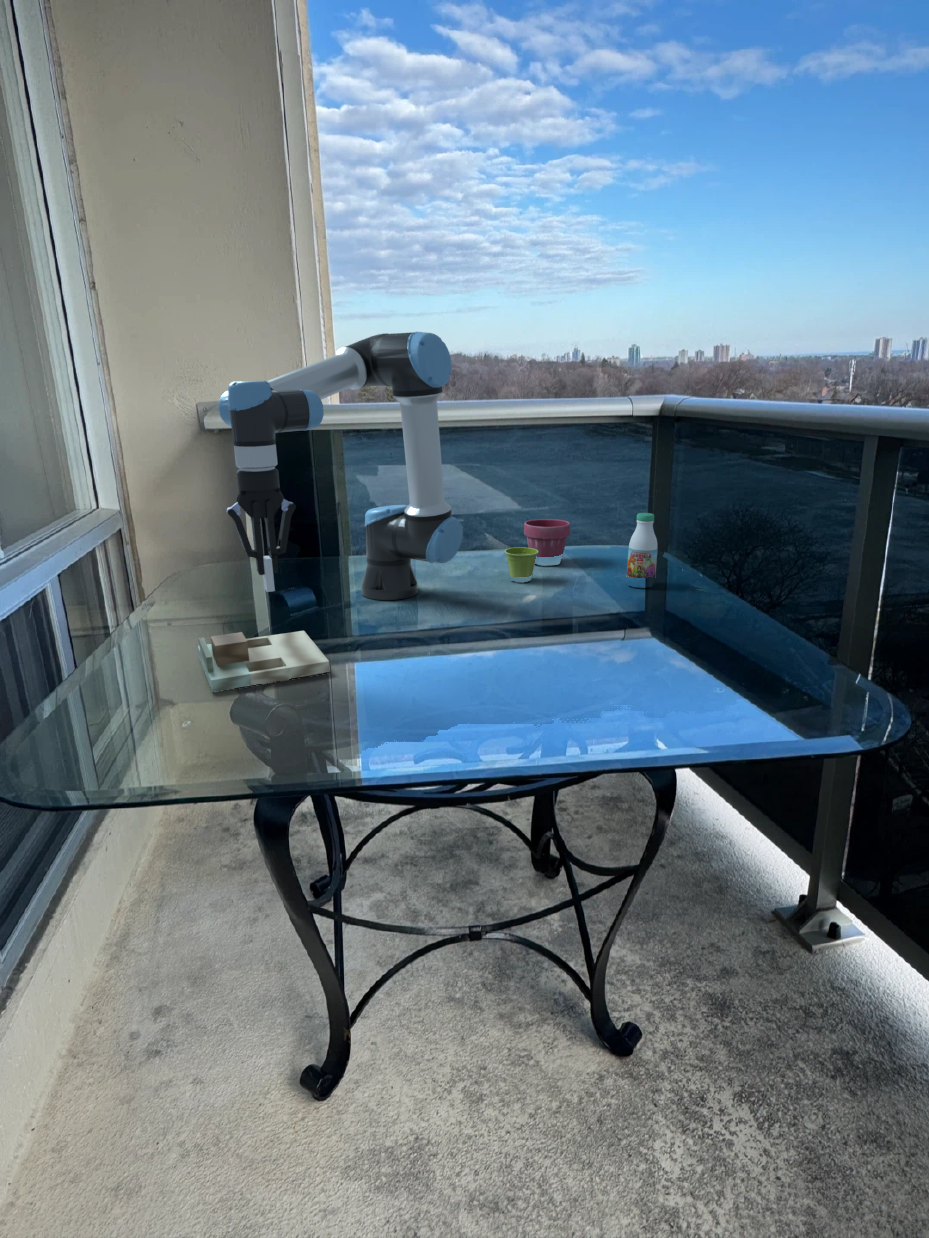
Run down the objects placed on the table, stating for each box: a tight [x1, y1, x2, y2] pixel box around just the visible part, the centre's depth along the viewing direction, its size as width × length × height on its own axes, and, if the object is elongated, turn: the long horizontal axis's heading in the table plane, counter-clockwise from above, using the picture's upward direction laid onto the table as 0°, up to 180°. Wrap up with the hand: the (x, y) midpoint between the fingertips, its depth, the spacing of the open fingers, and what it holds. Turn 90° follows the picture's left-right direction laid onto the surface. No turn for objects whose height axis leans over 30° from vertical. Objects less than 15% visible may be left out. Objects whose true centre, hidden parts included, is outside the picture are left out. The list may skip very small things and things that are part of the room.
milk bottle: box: [626, 512, 658, 578], centre depth 201 cm, size 8×8×20 cm
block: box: [210, 631, 249, 666], centre depth 144 cm, size 6×6×4 cm
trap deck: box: [197, 630, 331, 693], centre depth 147 cm, size 22×20×6 cm
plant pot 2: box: [523, 518, 571, 557], centre depth 226 cm, size 14×14×13 cm
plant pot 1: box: [504, 546, 538, 577], centre depth 207 cm, size 9×9×9 cm
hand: (269, 589), depth 144 cm, fingers closed
